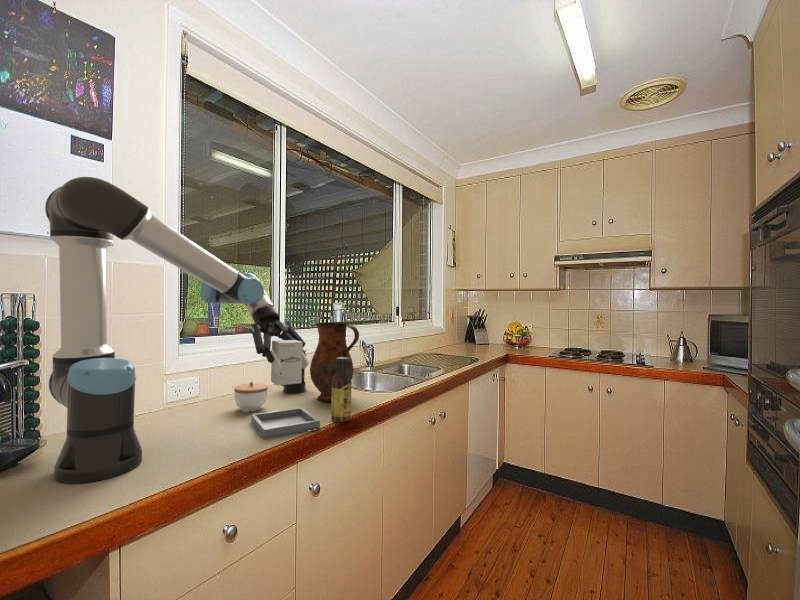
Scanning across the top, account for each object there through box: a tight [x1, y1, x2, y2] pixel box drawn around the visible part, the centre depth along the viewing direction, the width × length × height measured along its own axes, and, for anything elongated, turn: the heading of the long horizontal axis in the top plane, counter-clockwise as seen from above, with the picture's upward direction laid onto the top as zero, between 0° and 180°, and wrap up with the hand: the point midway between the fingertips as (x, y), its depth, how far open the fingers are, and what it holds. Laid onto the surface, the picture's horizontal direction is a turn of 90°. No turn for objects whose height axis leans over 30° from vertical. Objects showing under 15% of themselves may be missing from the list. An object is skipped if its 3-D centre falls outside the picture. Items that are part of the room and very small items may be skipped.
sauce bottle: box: [330, 357, 352, 423], centre depth 120 cm, size 7×6×20 cm
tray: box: [250, 407, 321, 440], centre depth 113 cm, size 16×16×2 cm
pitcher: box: [309, 321, 360, 404], centre depth 144 cm, size 17×21×30 cm
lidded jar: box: [233, 381, 269, 413], centre depth 130 cm, size 11×11×9 cm
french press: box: [280, 335, 307, 394], centre depth 157 cm, size 12×9×23 cm
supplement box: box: [270, 339, 303, 387], centre depth 114 cm, size 7×7×13 cm
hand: (293, 368), depth 112 cm, fingers closed on supplement box, 9 cm apart
